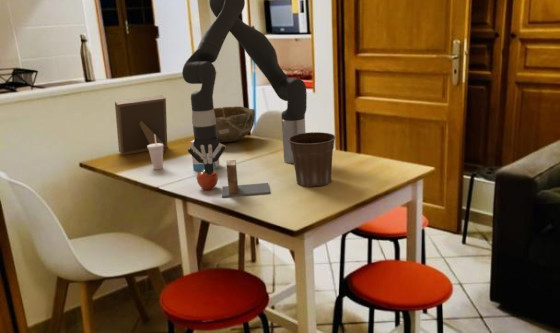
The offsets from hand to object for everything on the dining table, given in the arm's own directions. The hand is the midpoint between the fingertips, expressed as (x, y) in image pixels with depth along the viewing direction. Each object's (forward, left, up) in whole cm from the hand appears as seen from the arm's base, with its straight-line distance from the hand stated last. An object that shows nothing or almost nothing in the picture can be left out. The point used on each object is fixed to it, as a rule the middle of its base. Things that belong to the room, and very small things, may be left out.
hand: (209, 173), depth 175 cm
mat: (-12, 0, -7) cm, 14 cm away
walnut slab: (-8, +1, -7) cm, 10 cm away
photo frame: (+32, -68, -7) cm, 76 cm away
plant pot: (-36, -4, -7) cm, 37 cm away
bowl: (-6, -77, -7) cm, 77 cm away
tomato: (+1, -7, -7) cm, 10 cm away
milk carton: (+3, -34, -7) cm, 35 cm away
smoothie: (+23, -39, -7) cm, 46 cm away
